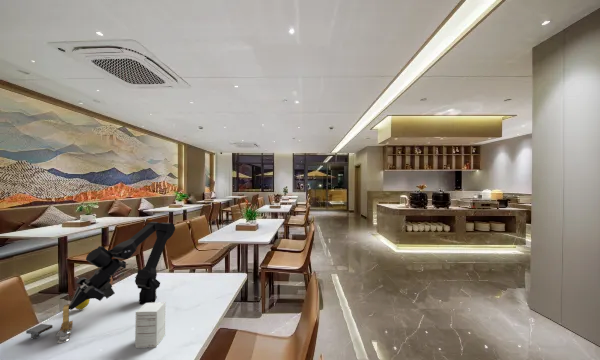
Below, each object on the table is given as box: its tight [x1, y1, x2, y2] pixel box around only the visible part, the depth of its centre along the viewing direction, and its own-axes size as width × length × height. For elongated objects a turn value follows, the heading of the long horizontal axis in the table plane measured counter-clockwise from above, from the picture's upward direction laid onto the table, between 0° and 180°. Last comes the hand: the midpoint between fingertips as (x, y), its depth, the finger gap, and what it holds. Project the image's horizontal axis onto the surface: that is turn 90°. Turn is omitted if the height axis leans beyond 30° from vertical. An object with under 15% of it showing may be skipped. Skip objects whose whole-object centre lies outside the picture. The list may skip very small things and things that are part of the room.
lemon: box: [74, 299, 91, 311], centre depth 115 cm, size 6×6×8 cm
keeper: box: [25, 323, 53, 340], centre depth 94 cm, size 5×5×4 cm
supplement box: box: [134, 301, 167, 349], centre depth 92 cm, size 7×7×13 cm
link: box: [57, 303, 74, 340], centre depth 97 cm, size 9×3×10 cm, turn 38°
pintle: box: [56, 329, 72, 345], centre depth 92 cm, size 4×4×3 cm
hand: (69, 309), depth 97 cm, fingers closed, pressing on link
